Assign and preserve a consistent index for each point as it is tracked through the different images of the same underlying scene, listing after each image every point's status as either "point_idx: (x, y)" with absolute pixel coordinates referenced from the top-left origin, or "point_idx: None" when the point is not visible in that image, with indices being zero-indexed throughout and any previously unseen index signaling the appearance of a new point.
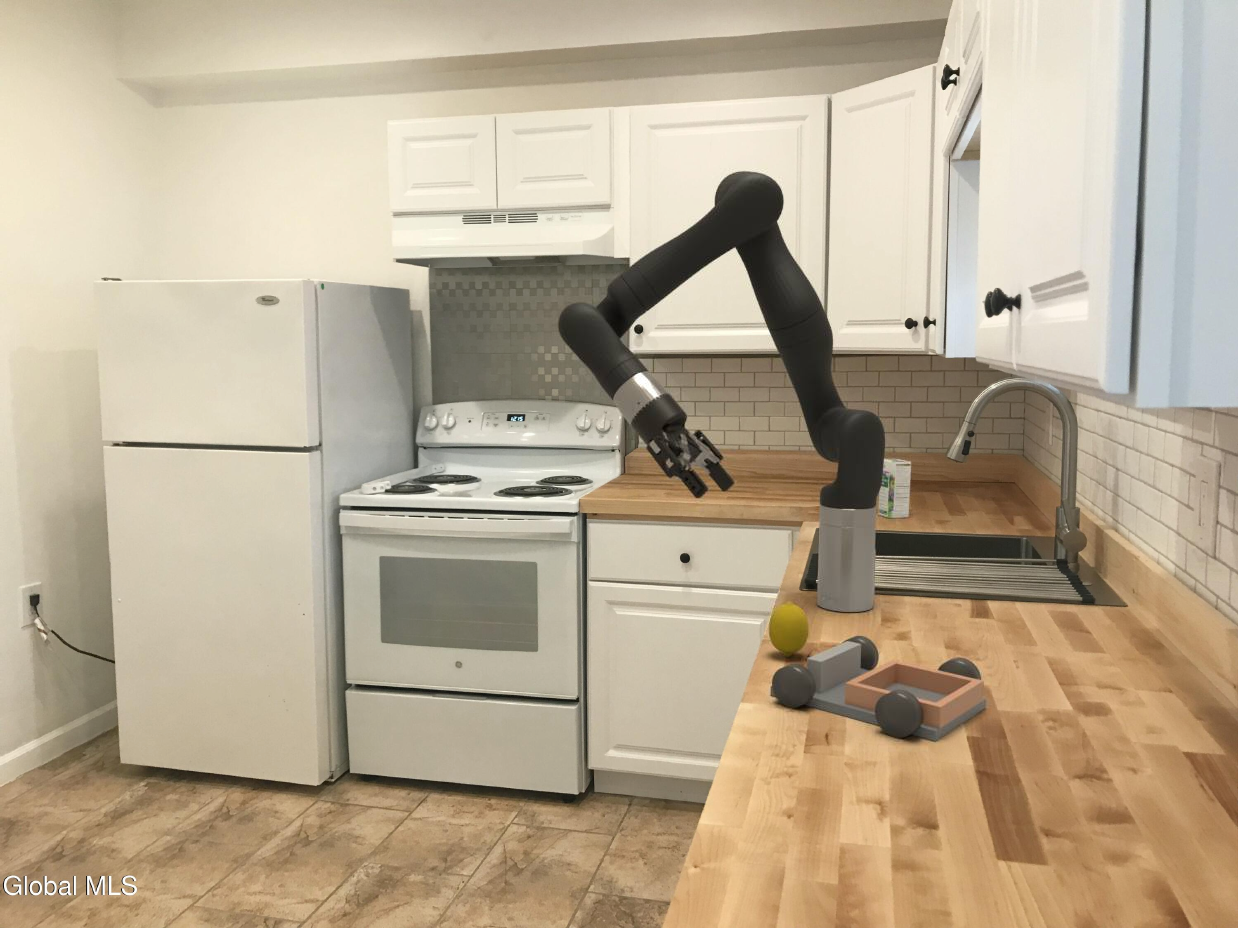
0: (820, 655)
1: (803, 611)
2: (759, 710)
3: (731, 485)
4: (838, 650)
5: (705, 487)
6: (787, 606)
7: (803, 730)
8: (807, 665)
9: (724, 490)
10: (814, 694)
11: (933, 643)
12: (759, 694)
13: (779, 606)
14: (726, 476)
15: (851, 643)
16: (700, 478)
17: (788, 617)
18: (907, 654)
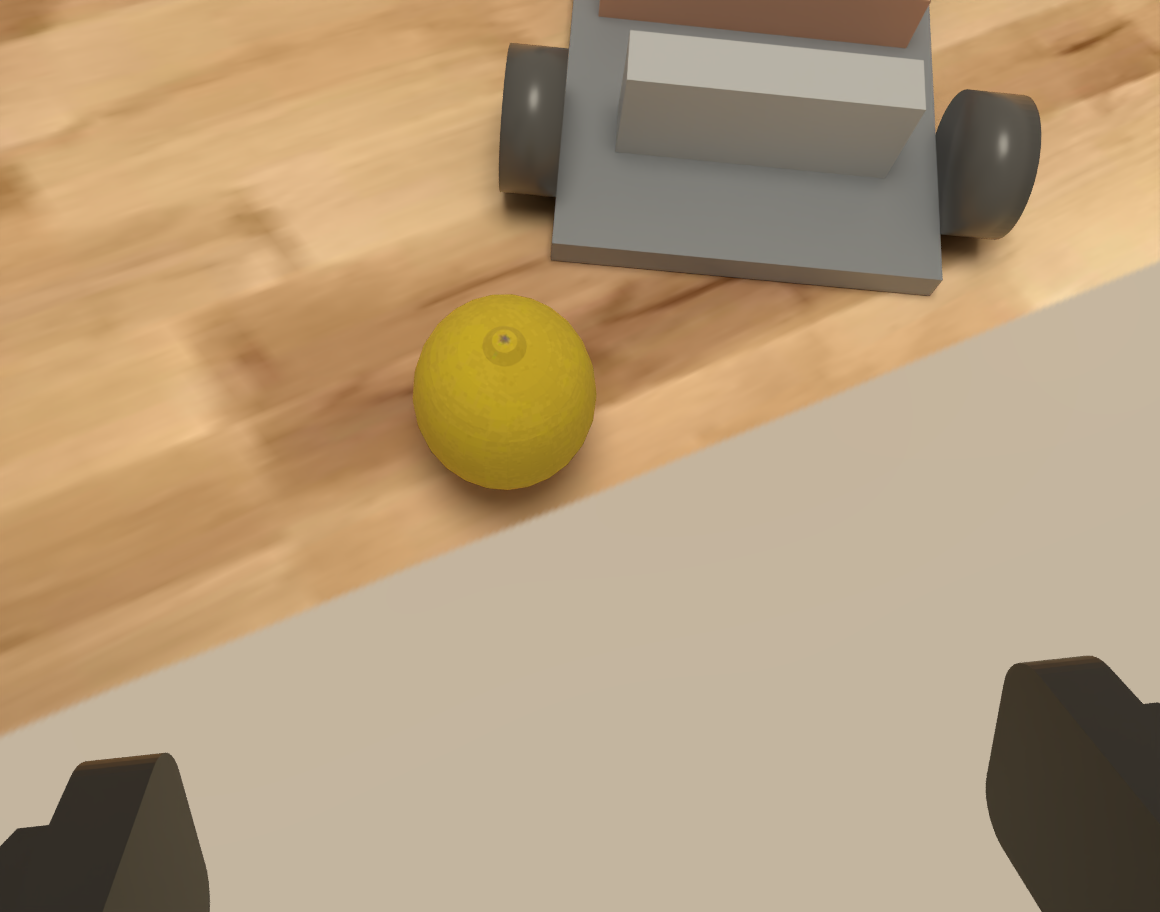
0: (860, 88)
1: (461, 308)
2: (1064, 263)
3: (170, 774)
4: (760, 63)
5: (1097, 665)
6: (532, 343)
7: (1095, 104)
8: (916, 124)
9: (204, 894)
10: (906, 142)
11: (2, 77)
12: (946, 328)
13: (525, 393)
14: (126, 878)
15: (646, 59)
16: (1145, 795)
17: (573, 335)
18: (204, 106)
